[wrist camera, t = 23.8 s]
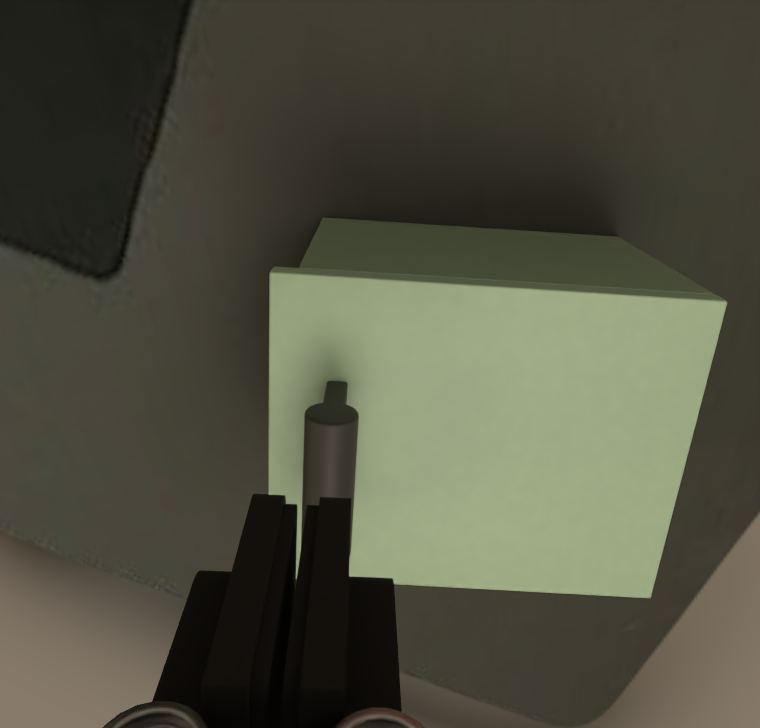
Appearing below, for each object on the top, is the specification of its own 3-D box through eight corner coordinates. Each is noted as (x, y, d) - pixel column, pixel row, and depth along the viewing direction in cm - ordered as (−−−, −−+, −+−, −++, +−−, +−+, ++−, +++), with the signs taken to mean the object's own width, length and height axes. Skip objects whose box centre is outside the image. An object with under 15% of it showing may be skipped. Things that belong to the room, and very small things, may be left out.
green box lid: (270, 564, 26) (250, 650, 22) (272, 266, 22) (247, 304, 18) (643, 585, 27) (690, 673, 23) (717, 294, 22) (791, 338, 18)
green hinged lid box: (314, 444, 36) (291, 565, 26) (322, 217, 31) (297, 267, 22) (576, 459, 36) (642, 584, 27) (619, 236, 32) (716, 293, 22)
